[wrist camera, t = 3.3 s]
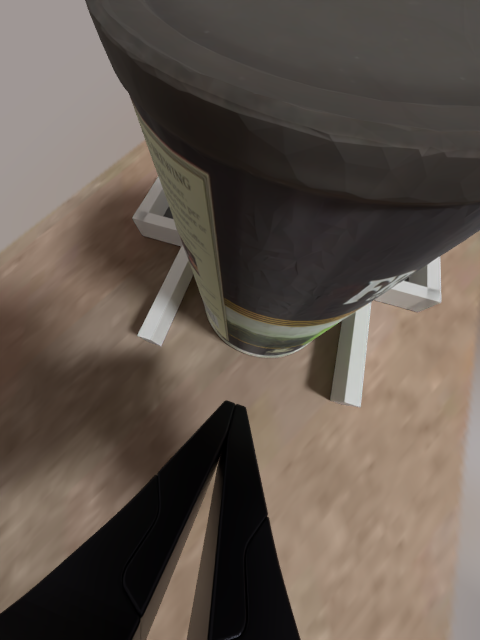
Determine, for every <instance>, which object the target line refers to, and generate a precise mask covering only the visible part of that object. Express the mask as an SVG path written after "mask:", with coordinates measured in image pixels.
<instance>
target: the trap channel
mask: <svg viewBox="0 0 480 640" xmlns="http://www.w3.org/2000/svg"><path fill="white" fill-rule="evenodd" d="M132 219H133V221H134V223H135V224H136V226H137V228H138V229H139V231H140V233H141V234H142V236H146V237H149V238H153V239H156V240H160V241H164V242H167V243H171V244H174V245H178V246H182V247H181V249H180V251H179V253H178V255H177V257H176V259H175V261H174V263H173V265H172V267H171V269H170V271H169V273H168V275H167V277H166V279H165V281H164V283H163V285H162V287H161V289H160V291H159V293H158V295H157V297H156V299H155V301H154V303H153V305H152V307H151V309H150V311H149V313H148V315H147V317H146V319H145V321H144V323H143V325H142V327H141V329H140V331H139V333H138V335H137V336H139V337H140V338H142V339H144V340H146V341H148V342H150V343H153V344H156V345H159V346H162V343H163V341H164V339H165V337H166V334H167V332H168V330H169V328H170V326H171V323H172V321H173V319H174V317H175V314H176V312H177V310H178V308H179V305H180V303H181V301H182V299H183V296H184V294H185V292H186V290H187V288H188V285H189V283H190V281H191V279H192V276H193V271H192V269H191V266H190V263H189V260H188V257H187V255H186V252H185V250H184V247H183V245H182V241H181V238H180V235H179V233H178V231H177V229H176V226H175V222H174V219H173V216H172V213H171V210H170V207H169V204H168V202H167V199H166V196H165V193H164V190H163V188H162V185H161V182H160V179H159V176H158V178H157V179H156V181H155V183H154V184H153V186H152V187H151V189H150V191H149V192H148V194H147V195H146V197H145V198H144V200H143V202H142V203H141V205H140V206H139V208H138V209H137V211H136V213H135V214H134V216H133V217H132ZM374 300H376V301H379V302H383V303H386V304H390V305H394V306H397V307H401V308H404V309H408V310H412V311H415V312H420V311H422V310H425V309H427V308H430V307H432V306H434V305H437V304H439V303H441V268H440V256H439V257H438V258H436V259H435V260H433V261H432V262H431V263H429V264H428V265H426V266H424V267H423V268H421V269H420V270H418V271H417V272H415V273H414V274H412V275H411V276H410V277H408V278H407V279H405V280H404V281H402V282H401V283H399V284H397V285H396V286H394V287H393V288H391V289H390V290H388V291H387V292H385V293H384V294H382V295H381V296H379V297H378V298H376V299H374ZM370 310H371V302H370V303H368V304H367V305H365V306H364V307H362V308H360V309H359V310H357V311H356V312H354V313H353V314H351V315H350V316H348V317H347V318H345V319H344V320H342V324H341V331H340V338H339V344H338V351H337V357H336V364H335V371H334V377H333V384H332V391H331V397H330V401H333V402H336V403H339V404H342V405H347V406H354V407H361V398H362V388H363V378H364V369H365V359H366V349H367V339H368V330H369V320H370Z"/></svg>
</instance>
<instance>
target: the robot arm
mask: <svg viewBox="0 0 480 640" xmlns="http://www.w3.org/2000/svg"><path fill="white" fill-rule="evenodd" d="M220 454H221V455H220ZM218 461H219V462H218ZM217 464H218V467H217V472H216V477H215V483H214V489H213V494H212V500H211V506H210V511H209V517H208V523H207V528H206V534H205V539H204V545H203V551H202V556H201V562H200V568H199V573H198V579H197V585H196V590H195V596H194V602H193V607H192V613H191V619H190V624H189V630H188V635H187V640H300V636H299V633H298V629H297V626H296V623H295V619H294V616H293V612H292V609H291V605H290V602H289V598H288V595H287V591H286V587H285V584H284V580H283V576H282V573H281V569H280V565H279V561H278V557H277V553H276V548H275V544H274V540H273V535H272V530H271V526H270V521H269V517H267V515H268V512H267V507H266V502H265V497H264V492H263V488H262V483H261V478H260V473H259V468H258V463H257V459H256V454H255V449H254V444H253V439H252V434H251V430H250V425H249V420H248V415H247V410H246V407H244V406H242V405H239V404H236V405H235V403H233V402H230V401H224V402H223V403H222V404H221V406H220V407H219V408H218V409H217V410H216V411H215V412H214V413H213V414H212V415H211V416H210V417H209V418H208V419H207V420H206V422H205V423H204V424H203V425H202V426H201V427H200V428H199V429H198V430H197V431H196V432H195V433H194V434H193V435H192V436H191V438H190V439H189V440H188V441H187V442H186V443H185V444H184V445H183V446H182V447H181V448H180V449H179V450H178V451H177V453H176V454H175V455H174V456H173V457H172V458H171V459H170V460H169V461H168V462H167V463H166V464H165V465H164V466H163V467H162V469H161V470H160V471H159V472H158V473H157V475H155V476H154V477H153V478H152V479H151V480H150V481H149V482H148V483H147V484H146V485H145V486H144V487H143V488H142V489H141V490H140V491H139V493H138V494H137V495H136V496H135V497H134V498H133V499H132V500H131V501H130V502H129V503H128V504H127V505H126V506H124V507H123V508H122V509H121V510H120V511H119V512H118V513H117V514H116V515H115V516H114V517H113V518H112V519H110V520H109V521H108V522H107V523H106V524H105V525H104V526H103V527H102V528H100V529H99V530H98V531H97V532H96V533H95V534H94V535H93V536H91V537H90V538H89V539H88V540H87V541H86V542H85V543H84V544H82V545H81V546H80V547H79V548H78V549H77V550H76V551H74V552H73V553H72V554H71V555H70V556H69V557H68V558H67V559H65V560H64V561H63V562H62V563H61V564H60V565H59V566H58V567H56V568H55V569H54V570H53V571H52V572H51V573H50V574H49V575H47V576H46V577H45V578H44V579H43V580H42V581H40V582H39V583H38V584H37V585H36V586H35V587H33V588H32V589H31V590H30V591H29V592H27V593H26V594H25V595H24V596H22V597H21V598H20V599H19V600H17V601H16V602H15V603H13V604H12V605H11V606H10V607H8V608H7V609H6V610H4V611H3V612H2V613H0V640H146V638H147V636H148V633H149V631H150V628H151V626H152V623H153V621H154V619H155V616H156V614H157V611H158V609H159V606H160V604H161V601H162V599H163V597H164V594H165V592H166V589H167V587H168V584H169V582H170V579H171V577H172V575H173V572H174V570H175V567H176V565H177V562H178V560H179V557H180V555H181V552H182V550H183V548H184V545H185V543H186V540H187V538H188V535H189V533H190V530H191V528H192V526H193V523H194V521H195V518H196V516H197V513H198V511H199V508H200V506H201V504H202V501H203V499H204V496H205V494H206V491H207V489H208V486H209V484H210V481H211V479H212V477H213V474H214V472H215V469H216V466H217Z"/></svg>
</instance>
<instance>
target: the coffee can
mask: <svg viewBox="0 0 480 640" xmlns="http://www.w3.org/2000/svg"><path fill="white" fill-rule="evenodd" d="M85 1H86V4H87V7H88V10H89V13H90V15H91V18H92V20H93V23H94V25H95V28H96V30H97V32H98V35H99V37H100V40H101V42H102V44H103V47H104V49H105V51H106V53H107V56H108V58H109V60H110V62H111V64H112V67H113V69H114V71H115V73H116V75H117V77H118V78H119V80H120V82H121V83H122V85H123V86H124V88H125V89H126V90H127V91H128V93H129V95H130V98H131V100H132V103H133V106H134V109H135V112H136V115H137V117H138V120H139V123H140V126H141V128H142V132H143V134H144V137H145V140H146V143H147V146H148V148H149V151H150V154H151V157H152V160H153V162H154V165H155V168H156V171H157V174H158V176H159V179H160V182H161V185H162V188H163V190H164V193H165V196H166V199H167V202H168V204H169V207H170V210H171V213H172V216H173V219H174V222H175V226H176V229H177V231H178V233H179V235H180V238H181V241H182V245H183V247H184V250H185V252H186V255H187V257H188V260H189V263H190V266H191V269H192V271H193V274H194V277H195V280H196V283H197V286H198V289H199V292H200V295H201V297H202V300H203V303H204V305H205V310H206V314H207V317H208V320H209V322H210V324H211V326H212V327H213V329H214V330H215V332H216V333H217V334H218V335H219V337H220V338H221V339H222V340H224V341H225V343H226V344H228V345H229V346H231V347H233V348H234V349H236V350H238V351H240V352H242V353H245V354H248V355H251V356H255V357H262V358H277V357H283V356H286V355H290V354H292V353H295V352H297V351H299V350H300V349H302V348H304V347H305V346H307V345H308V344H309V343H310V342H311V341H312V340H314V339H315V338H317V337H318V336H320V335H321V334H323V333H324V332H325V331H327V330H329V329H330V328H332V327H333V326H335V325H336V324H338V323H339V322H341V321H342V320H344V319H345V318H347V317H348V316H350V315H351V314H353V313H354V312H356V311H357V310H359V309H360V308H362V307H364V306H365V305H367V304H368V303H370V302H371V301H373V300H374V299H376V298H378V297H379V296H381V295H382V294H384V293H385V292H387V291H388V290H390V289H391V288H393V287H394V286H396V285H397V284H399V283H401V282H402V281H404V280H405V279H407V278H408V277H410V276H411V275H412V274H414V273H415V272H417V271H418V270H420V269H421V268H423V267H424V266H426V265H428V264H429V263H431V262H432V261H433V260H435V259H436V258H438V257H439V256H441V255H443V254H444V253H446V252H448V251H449V250H451V249H452V248H453V247H455V246H457V245H458V244H460V243H461V242H463V241H465V240H466V239H467V238H469V237H470V236H472V235H473V234H475V233H476V232H478V231H479V230H480V0H85Z"/></svg>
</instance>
